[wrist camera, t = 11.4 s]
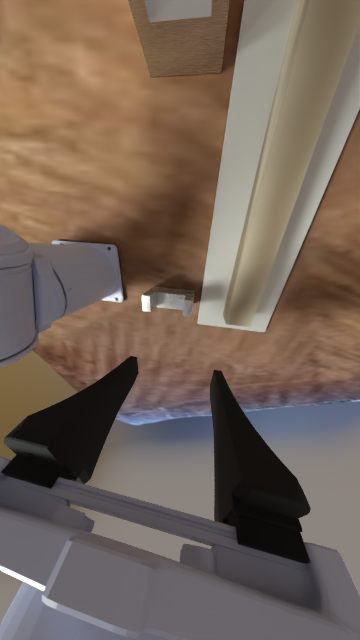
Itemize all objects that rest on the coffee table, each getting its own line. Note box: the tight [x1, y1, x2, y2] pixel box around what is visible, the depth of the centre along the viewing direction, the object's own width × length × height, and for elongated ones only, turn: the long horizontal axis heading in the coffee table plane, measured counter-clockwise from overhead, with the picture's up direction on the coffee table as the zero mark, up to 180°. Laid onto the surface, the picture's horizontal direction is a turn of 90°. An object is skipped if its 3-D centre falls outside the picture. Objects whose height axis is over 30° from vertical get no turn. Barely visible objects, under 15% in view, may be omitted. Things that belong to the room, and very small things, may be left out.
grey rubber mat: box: [197, 0, 360, 332], centre depth 14 cm, size 10×28×1 cm, turn 176°
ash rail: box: [223, 0, 360, 327], centre depth 12 cm, size 3×24×3 cm, turn 176°
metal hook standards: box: [128, 0, 230, 317], centre depth 13 cm, size 6×22×5 cm, turn 176°
